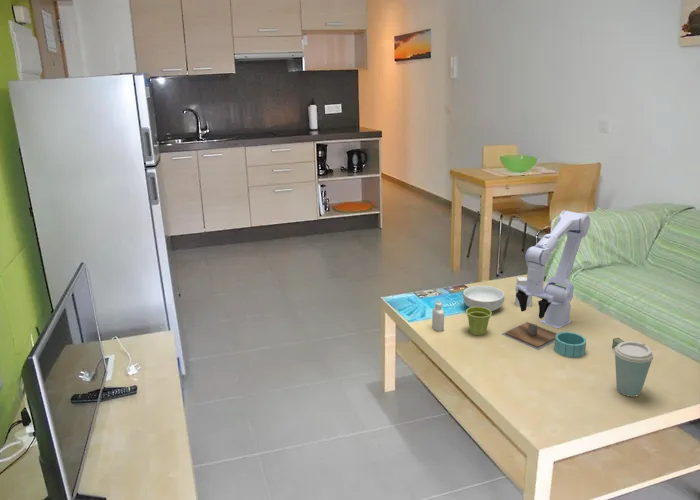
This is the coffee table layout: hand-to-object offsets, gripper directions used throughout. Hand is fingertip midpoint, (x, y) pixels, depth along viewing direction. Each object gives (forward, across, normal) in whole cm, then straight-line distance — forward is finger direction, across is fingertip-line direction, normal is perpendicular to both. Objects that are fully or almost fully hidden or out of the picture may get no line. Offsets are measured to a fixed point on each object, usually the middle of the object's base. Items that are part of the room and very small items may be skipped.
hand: (532, 314), depth 200 cm
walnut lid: (+9, 0, +1) cm, 9 cm away
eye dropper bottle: (+9, -27, -21) cm, 35 cm away
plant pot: (+10, -15, -12) cm, 21 cm away
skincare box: (+10, -19, +22) cm, 31 cm away
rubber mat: (+9, 0, +1) cm, 9 cm away
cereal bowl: (+10, -28, +7) cm, 30 cm away
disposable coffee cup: (+10, +40, -8) cm, 42 cm away
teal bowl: (+9, +15, +1) cm, 18 cm away
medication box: (+10, +29, +13) cm, 34 cm away
